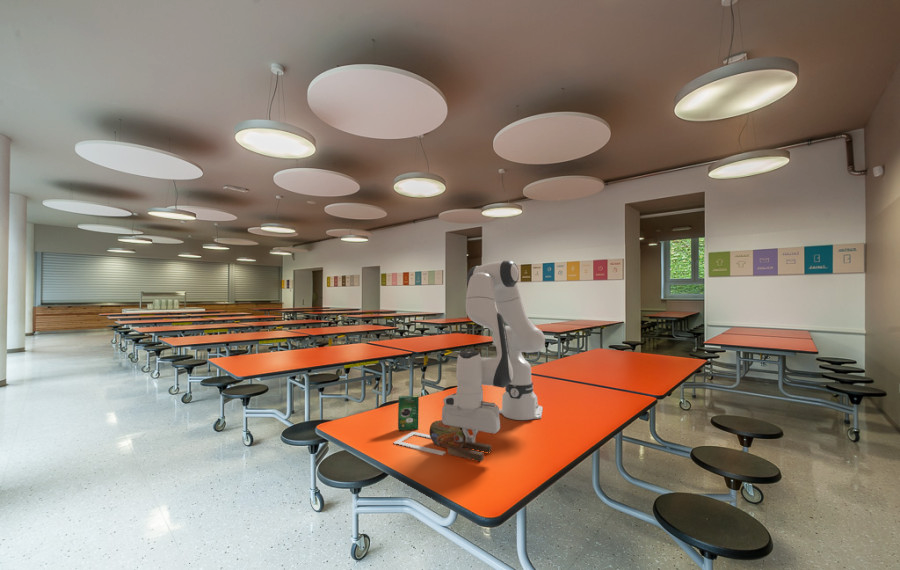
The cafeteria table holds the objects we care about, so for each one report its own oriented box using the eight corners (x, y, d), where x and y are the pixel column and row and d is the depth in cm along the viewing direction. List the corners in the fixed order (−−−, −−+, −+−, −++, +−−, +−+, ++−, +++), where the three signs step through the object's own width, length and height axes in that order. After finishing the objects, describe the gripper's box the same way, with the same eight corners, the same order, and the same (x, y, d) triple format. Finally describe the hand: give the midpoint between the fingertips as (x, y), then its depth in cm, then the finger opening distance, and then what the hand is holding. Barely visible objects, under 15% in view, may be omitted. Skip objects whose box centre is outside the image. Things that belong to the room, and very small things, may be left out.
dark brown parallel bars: (459, 444, 122) (459, 438, 122) (491, 451, 116) (491, 445, 116) (447, 454, 114) (447, 447, 114) (481, 461, 109) (480, 455, 109)
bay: (412, 432, 134) (412, 431, 134) (459, 442, 124) (459, 441, 124) (393, 443, 123) (393, 442, 123) (442, 455, 113) (442, 454, 113)
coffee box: (418, 427, 140) (417, 394, 140) (419, 429, 137) (418, 396, 138) (397, 429, 138) (397, 395, 138) (398, 431, 135) (398, 397, 136)
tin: (428, 443, 123) (428, 419, 124) (434, 440, 126) (434, 416, 126) (463, 453, 114) (463, 427, 115) (468, 450, 117) (468, 424, 117)
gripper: (502, 401, 114) (503, 444, 113) (448, 394, 123) (448, 433, 123) (495, 406, 108) (496, 451, 107) (439, 398, 118) (439, 439, 117)
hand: (470, 441), depth 115 cm, fingers closed
